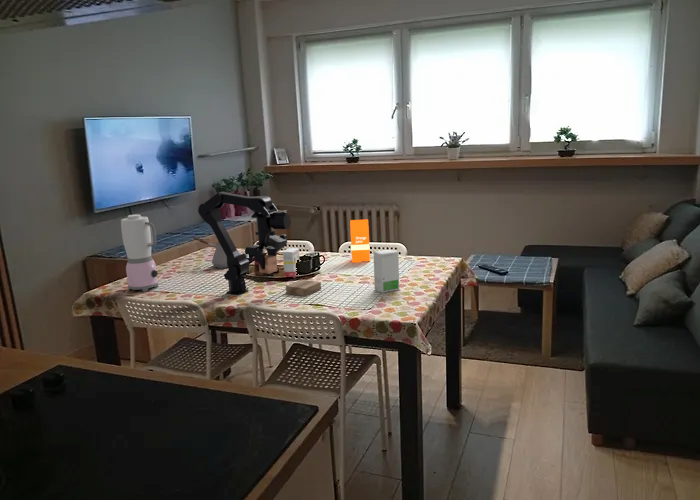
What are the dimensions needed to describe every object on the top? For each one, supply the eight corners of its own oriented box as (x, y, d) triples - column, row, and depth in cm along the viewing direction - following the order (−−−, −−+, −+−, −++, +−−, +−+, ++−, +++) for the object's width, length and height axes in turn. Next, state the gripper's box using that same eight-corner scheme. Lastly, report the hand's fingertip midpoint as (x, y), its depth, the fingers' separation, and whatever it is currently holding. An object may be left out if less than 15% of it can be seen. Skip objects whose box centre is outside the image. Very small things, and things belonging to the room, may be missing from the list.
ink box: (294, 278, 246) (292, 251, 243) (284, 277, 247) (282, 251, 244) (300, 273, 254) (299, 247, 251) (290, 272, 255) (288, 247, 252)
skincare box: (382, 293, 216) (380, 254, 213) (373, 289, 222) (372, 251, 219) (400, 289, 220) (399, 251, 217) (391, 285, 226) (390, 248, 222)
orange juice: (370, 261, 268) (368, 220, 264) (351, 262, 269) (349, 221, 264) (369, 257, 276) (368, 218, 272) (352, 258, 276) (350, 218, 272)
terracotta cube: (259, 272, 220) (258, 257, 219) (267, 269, 224) (266, 254, 223) (269, 273, 217) (267, 258, 216) (277, 270, 222) (276, 255, 220)
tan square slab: (286, 293, 224) (285, 285, 223) (301, 286, 232) (301, 279, 231) (306, 296, 218) (305, 288, 218) (321, 289, 226) (320, 282, 226)
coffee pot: (239, 263, 278) (236, 234, 275) (230, 269, 267) (227, 238, 264) (200, 263, 283) (197, 234, 280) (189, 269, 272) (186, 239, 269)
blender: (122, 291, 238) (111, 217, 231) (141, 283, 249) (131, 213, 243) (153, 293, 233) (143, 217, 226) (170, 285, 244) (161, 213, 237)
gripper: (264, 234, 205) (268, 275, 209) (295, 225, 221) (298, 264, 224) (242, 232, 211) (246, 272, 215) (274, 224, 226) (277, 261, 230)
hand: (268, 267), depth 221 cm, fingers closed on terracotta cube, 5 cm apart
